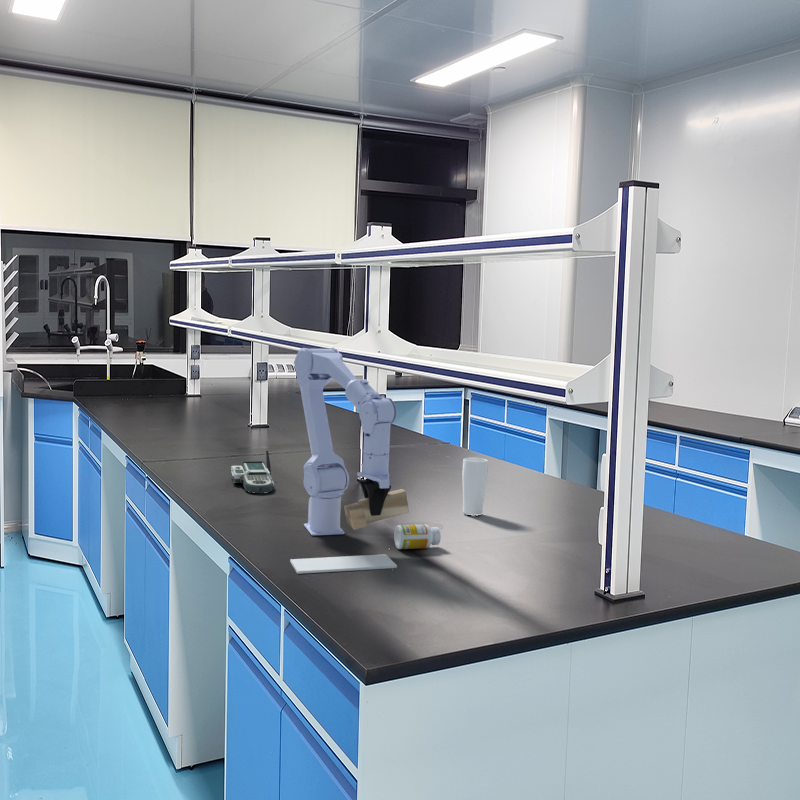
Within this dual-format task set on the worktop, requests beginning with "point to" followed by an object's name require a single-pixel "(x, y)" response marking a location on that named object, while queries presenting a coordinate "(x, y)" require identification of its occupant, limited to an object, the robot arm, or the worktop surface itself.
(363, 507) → the tan boxy piece
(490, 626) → the worktop surface
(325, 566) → the grey mat
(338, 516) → the robot arm
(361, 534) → the worktop surface
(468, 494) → the drinking glass
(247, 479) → the communication device
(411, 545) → the supplement bottle
